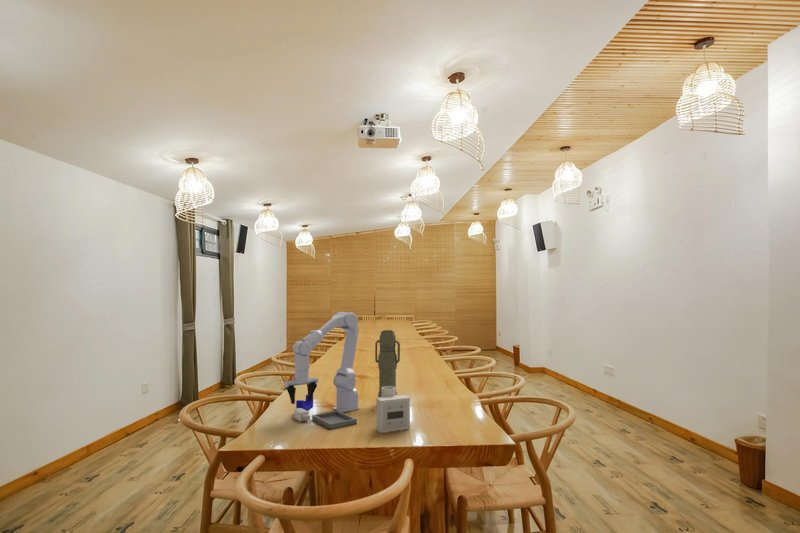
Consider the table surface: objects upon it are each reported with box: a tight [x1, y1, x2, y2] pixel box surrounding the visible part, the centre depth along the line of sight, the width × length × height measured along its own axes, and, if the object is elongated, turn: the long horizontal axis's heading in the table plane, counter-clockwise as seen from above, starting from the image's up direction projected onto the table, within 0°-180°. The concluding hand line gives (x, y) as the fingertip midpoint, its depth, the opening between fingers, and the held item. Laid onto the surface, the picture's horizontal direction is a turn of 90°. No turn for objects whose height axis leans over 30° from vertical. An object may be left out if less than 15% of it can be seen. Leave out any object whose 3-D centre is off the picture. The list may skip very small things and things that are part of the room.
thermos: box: [374, 329, 401, 398], centre depth 210 cm, size 9×12×35 cm
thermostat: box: [376, 386, 411, 434], centre depth 178 cm, size 12×14×15 cm
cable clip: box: [295, 393, 314, 412], centre depth 200 cm, size 12×4×6 cm, turn 169°
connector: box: [293, 407, 311, 422], centre depth 187 cm, size 10×4×4 cm, turn 37°
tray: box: [311, 410, 358, 430], centre depth 183 cm, size 12×16×2 cm
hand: (301, 402), depth 187 cm, fingers open, 7 cm apart
